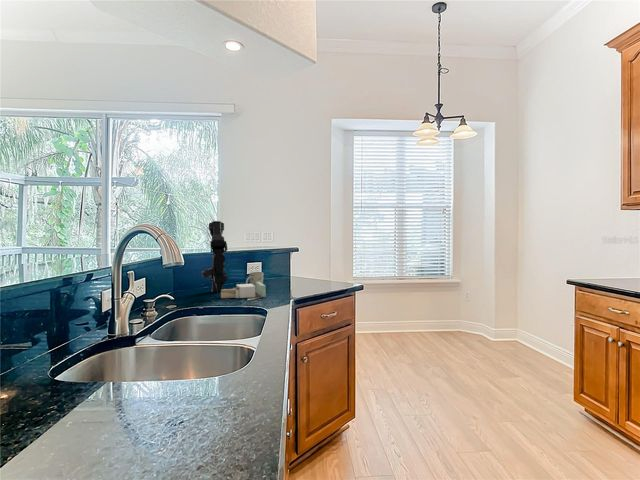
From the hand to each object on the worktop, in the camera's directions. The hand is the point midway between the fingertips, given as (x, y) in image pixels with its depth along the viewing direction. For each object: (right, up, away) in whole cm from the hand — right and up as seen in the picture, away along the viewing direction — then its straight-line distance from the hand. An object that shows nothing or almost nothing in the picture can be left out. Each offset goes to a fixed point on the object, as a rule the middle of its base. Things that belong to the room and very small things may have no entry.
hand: (218, 293), depth 192 cm
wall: (+20, -2, +9) cm, 22 cm away
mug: (+14, -2, +23) cm, 27 cm away
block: (+12, -2, +5) cm, 13 cm away
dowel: (+7, -2, +3) cm, 8 cm away
